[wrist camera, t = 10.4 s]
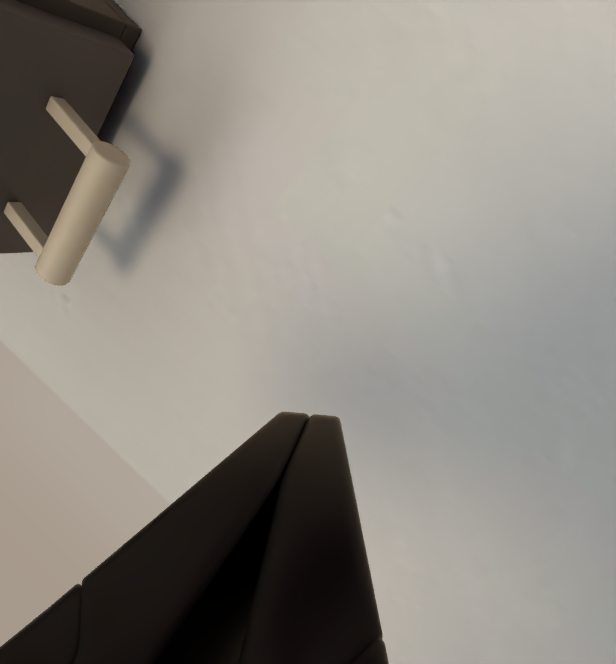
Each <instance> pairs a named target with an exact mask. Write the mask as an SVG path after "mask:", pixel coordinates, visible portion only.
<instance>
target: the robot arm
mask: <svg viewBox="0 0 616 664" xmlns="http://www.w3.org/2000/svg"><path fill="white" fill-rule="evenodd" d="M0 664H389V663H388V658H387V653H386V648H385V644H384V642H383V641H382V630H381V625H380V620H379V615H378V609H377V604H376V599H375V594H374V589H373V584H372V579H371V574H370V569H369V564H368V559H367V554H366V549H365V544H364V539H363V534H362V529H361V523H360V518H359V513H358V508H357V503H356V498H355V493H354V488H353V483H352V478H351V473H350V468H349V463H348V458H347V453H346V448H345V443H344V437H343V432H342V427H341V423H340V419H339V418H338V417H336V416H327V415H316V414H315V415H312V416H310V417H309V416H308V415H307V414H305V413H294V412H281V413H279V414H278V415H276V416H275V417H274V418H273V419H272V420H270V421H269V422H268V423H267V424H266V425H264V426H263V427H262V428H261V429H260V430H259V431H257V432H256V433H255V434H254V435H253V436H251V437H250V438H249V439H248V440H247V441H246V442H244V443H243V444H242V445H241V446H240V447H238V448H237V449H236V450H235V451H234V452H233V453H231V454H230V455H229V456H228V457H227V458H225V459H224V460H223V461H222V462H221V463H220V464H218V465H217V466H216V467H215V468H214V469H212V470H211V471H210V472H209V473H208V474H207V475H205V476H204V477H203V478H202V479H201V480H199V481H198V482H197V483H196V484H195V485H194V486H192V487H191V488H190V489H189V490H188V491H186V492H185V493H184V494H183V495H182V496H181V497H179V498H178V499H177V500H176V501H175V502H173V503H172V504H171V505H170V506H169V507H168V508H166V509H165V510H164V511H163V512H162V513H160V514H159V515H158V516H157V517H156V518H155V519H153V520H152V521H151V522H150V523H149V524H147V525H146V526H145V527H144V528H143V529H142V530H140V531H139V532H138V533H137V534H136V535H134V536H133V537H132V538H131V539H130V540H129V541H127V542H126V543H125V544H124V545H123V546H122V547H120V548H119V549H118V550H117V551H116V552H114V553H113V554H112V555H111V556H110V557H108V558H107V559H106V560H105V561H104V562H103V563H101V564H100V565H99V566H98V567H97V568H95V569H94V570H93V571H92V572H91V573H90V574H88V575H87V576H86V577H85V578H84V579H83V581H82V585H80V584H77V585H75V586H74V587H73V588H72V589H70V590H69V591H68V592H67V593H66V594H64V595H63V596H62V597H61V598H60V599H59V600H57V601H56V602H55V603H54V604H53V605H51V606H50V607H49V608H48V609H47V610H45V611H44V612H43V613H42V614H40V615H39V616H38V617H37V618H35V619H34V620H33V621H32V622H31V623H29V624H28V625H27V626H26V627H24V628H23V629H22V630H21V631H19V632H18V633H17V634H16V635H15V636H13V637H12V638H11V639H10V640H8V641H7V642H6V643H5V644H3V645H2V646H1V647H0Z"/></svg>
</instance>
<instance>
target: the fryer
mask: <svg viewBox="0 0 616 664" xmlns="http://www.w3.org/2000/svg"><path fill="white" fill-rule="evenodd" d="M16 1H19V2H22V3H24V4H27V5H30V6H32V7H35V8H38V9H41V10H43V11H46V12H49V13H52V14H54V15H57V16H60V17H63V18H65V19H68V20H71V21H74V22H76V23H79V24H82V25H85V26H87V27H90V28H93V29H95V30H98V31H101V32H104V33H106V34H109V35H112V36H115V37H117V38H119V39H120V40H121V41H122V42H123V44H124V45H125V46H126V47H127V48H128V49H129V50H130V51H132V49H133V46H134V44H135V42H136V40H137V38H138V36H139V33H140V31H141V30H140V28H139V27H138V26H137V25H136V24H135V23H134V22H133V21H132V20H131V19H130V18H129V17H128V16H127V15H126V14H125V13H124V12H123V11H122V10H121V9H120V8H119V7H118V6H117V4H116V3H115V2H114V1H113V0H16Z"/></svg>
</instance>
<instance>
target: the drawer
mask: <svg viewBox="0 0 616 664" xmlns="http://www.w3.org/2000/svg"><path fill="white" fill-rule="evenodd" d="M133 58H134V54H133V53H132V52H131V51H130V50H129V49H128V48H127V47H126V46H125V45H124V44H123V42H122V41H121V40H120V39H119V38H117V37H115V36H112V35H109V34H106V33H104V32H101V31H98V30H95V29H93V28H90V27H87V26H85V25H82V24H79V23H76V22H74V21H71V20H68V19H65V18H63V17H60V16H57V15H54V14H52V13H49V12H46V11H43V10H41V9H38V8H35V7H32V6H30V5H27V4H24V3H22V2H19V1H16V0H0V253H21V252H34V253H35V254H36V256H37V257H38V260H37V263H36V265H35V272H36V274H37V275H38V276H39V277H40V278H41V279H42V280H44V281H45V282H47V283H50V284H53V285H65V284H67V283H68V282H69V281H70V280H71V278H72V276H73V274H74V272H75V270H76V268H77V266H78V264H79V262H80V260H81V259H82V257H83V255H84V253H85V251H86V249H87V247H88V245H89V243H90V241H91V239H92V237H93V235H94V233H95V232H96V230H97V228H98V226H99V224H100V222H101V220H102V218H103V216H104V214H105V212H106V210H107V208H108V206H109V205H110V203H111V201H112V199H113V197H114V195H115V193H116V191H117V189H118V187H119V185H120V183H121V181H122V179H123V178H124V176H125V174H126V172H127V170H128V168H129V166H130V159H129V158H128V156H127V155H126V154H125V153H124V152H123V151H122V150H120V149H119V148H117V147H115V146H114V145H112V144H109V143H107V142H103V141H100V140H99V138H98V137H97V135H98V133H99V131H100V129H101V126H102V124H103V122H104V120H105V118H106V116H107V114H108V112H109V109H110V107H111V105H112V103H113V101H114V99H115V97H116V95H117V92H118V90H119V88H120V86H121V84H122V82H123V80H124V77H125V75H126V73H127V71H128V69H129V67H130V65H131V63H132V60H133Z"/></svg>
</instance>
